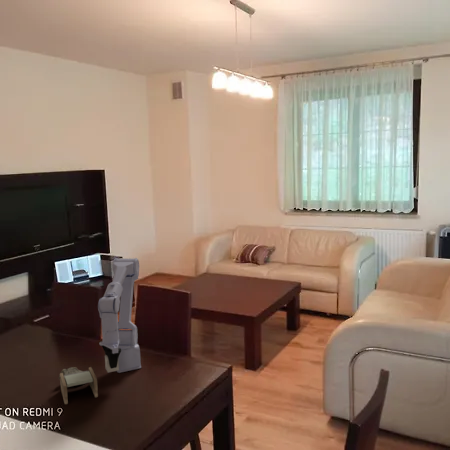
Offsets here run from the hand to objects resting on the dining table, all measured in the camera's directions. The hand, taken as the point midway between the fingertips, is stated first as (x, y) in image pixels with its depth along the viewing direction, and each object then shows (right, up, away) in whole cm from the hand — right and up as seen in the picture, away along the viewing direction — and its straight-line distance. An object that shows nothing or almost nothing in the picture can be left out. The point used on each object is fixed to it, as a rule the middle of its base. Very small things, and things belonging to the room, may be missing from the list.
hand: (112, 365), depth 168 cm
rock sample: (-15, -8, +6) cm, 18 cm away
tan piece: (-11, -9, -4) cm, 15 cm away
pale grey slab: (-11, -6, -4) cm, 13 cm away
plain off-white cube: (0, -2, 0) cm, 2 cm away
